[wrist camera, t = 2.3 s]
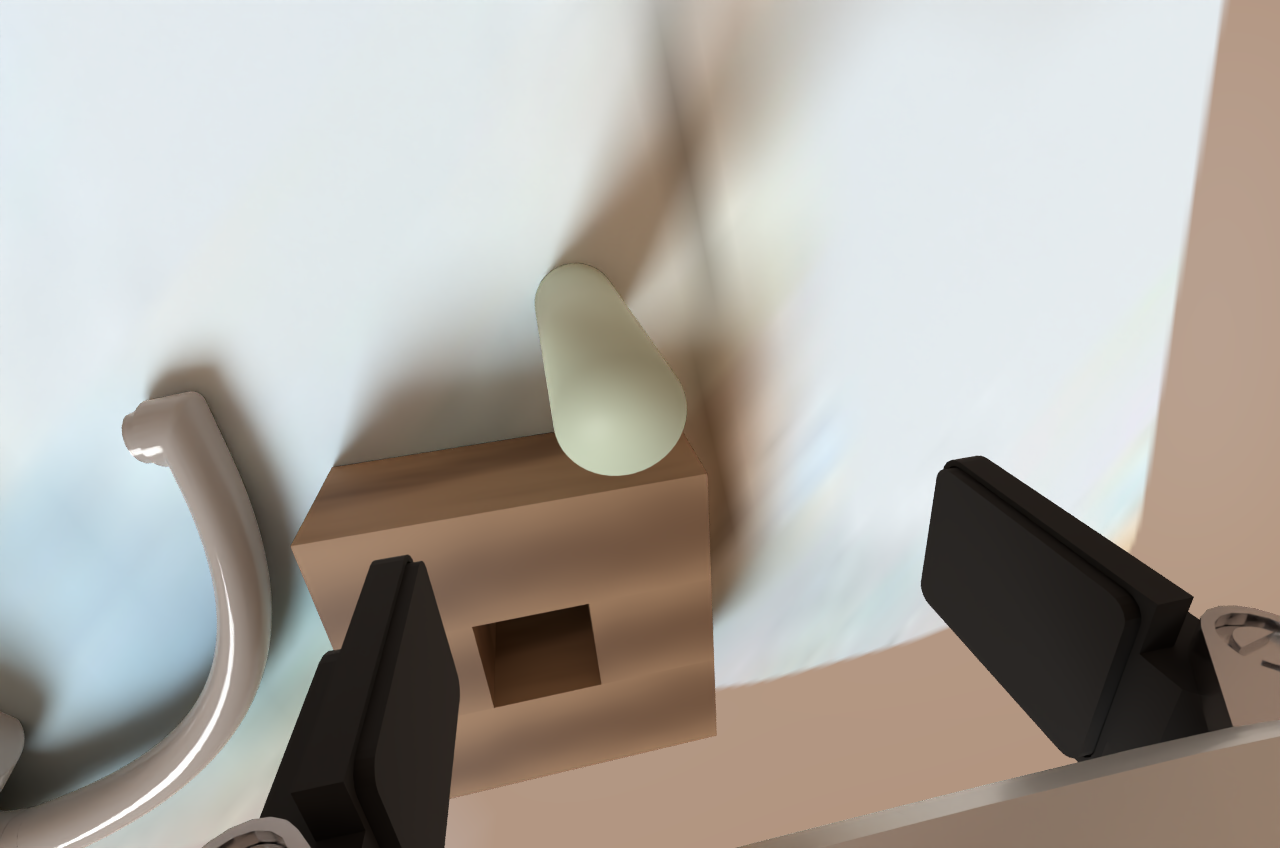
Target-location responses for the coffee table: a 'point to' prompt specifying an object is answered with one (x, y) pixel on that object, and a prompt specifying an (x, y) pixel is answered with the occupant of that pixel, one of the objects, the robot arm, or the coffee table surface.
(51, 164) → the coffee table surface
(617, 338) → the peg
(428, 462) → the socket block
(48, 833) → the faucet
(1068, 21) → the coffee table surface
